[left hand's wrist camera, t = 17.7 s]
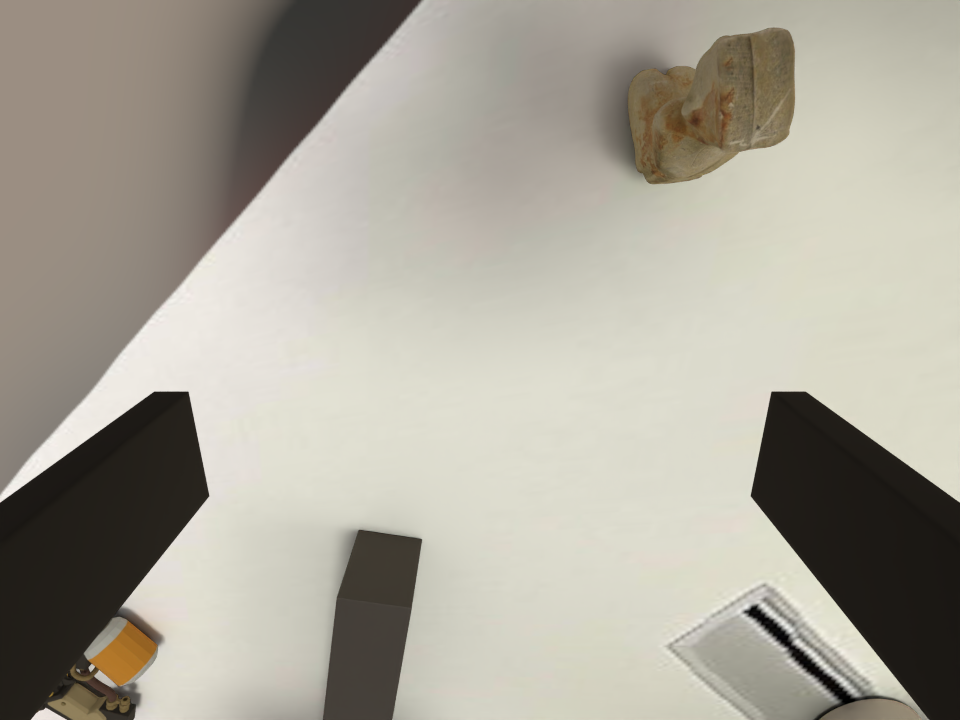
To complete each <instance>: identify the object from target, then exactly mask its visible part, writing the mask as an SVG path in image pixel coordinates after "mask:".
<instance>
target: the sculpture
mask: <svg viewBox="0 0 960 720" xmlns="http://www.w3.org/2000/svg"><path fill="white" fill-rule="evenodd" d="M794 62H795V49H794V43H793V40H792V37H791V34H790V32H789V31H788V30H785V29H781V28H767V29H765V30H762V31H759V32H755V33H750V34H740V35H733V36H722V37H720V38H719V39H717V40H716V41H715V42H714V44H713V45H712V47H711V48H710V49H709V50H708V51H707V52H706V53H705V54H704V55H703V56H702V58H701V59H700V61H699V63H698V65H697V68H696V69H693V68H691V67H687V66H676V67H674V68H672V69H670V70H668V72H667V73H666V75H664V74H662V73H660V72H659V71H658V70H657V69H648V70H643V71H641V72H640V73H639V74H637V75H636V76H635V77H634V79H633V80H632V82H631V85H630V88H629V92H628V113H629V121H630V127H631V132H632V138H633V143H634V148H635V157H636V158H635V164H636V167H637V170H638V172H640V173H643V174H644V177H645V179H646V180H647V182H648V183H650V184H667V183H675V182H682V181H689V180H693V179H697V178H700V177H701V176H702V175H704V174H707V173H710V172H712V171H713V170H715V169H717V168H718V167H720V166H721V165H723V164H724V163H726V162H727V161H729V160H730V159H732V158H733V157H734V156H735V155H737V154H738V153H739V152H741V151H745V150H750V149H757V148H766V147H771V146H774V145H776V144H778V143H780V142H781V141H783V140H784V139H786V137H787V136H788V135H789V129H790V125H791V122H792V118H793V114H794V105H795V84H794Z"/></svg>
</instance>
